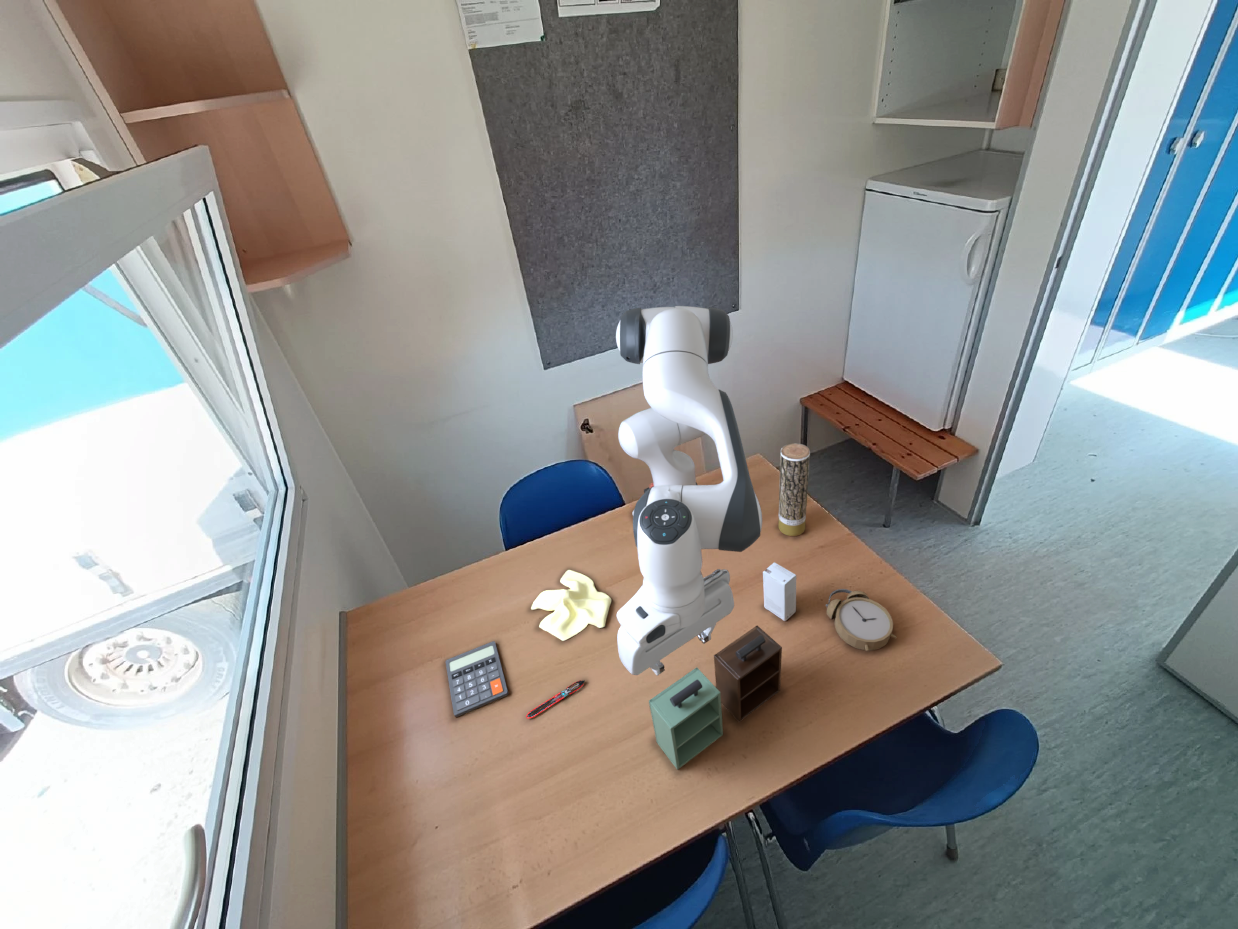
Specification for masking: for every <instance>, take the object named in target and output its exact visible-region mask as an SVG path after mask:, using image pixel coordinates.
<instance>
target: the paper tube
mask: <svg viewBox="0 0 1238 929" xmlns="http://www.w3.org/2000/svg"><path fill="white" fill-rule="evenodd" d="M810 460H811V451H810V448H809V447H808V446H807V445H805V444H802V443H795V442H794V443H788V444H785V445H783V446H782V447H781V449H780V454H779V486H778V489H779V490H778V523H777V524H778V525H777V526H778V530H779V531H780V532H781V533H782V534H783V535H785V536H788V537H796V536H797V537H798V536H800V535H802V534H803V533H804V532H805V530H806V522H807V521H806V520H807V505H808V504H807V503H808V488H809V474H810Z"/></svg>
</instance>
